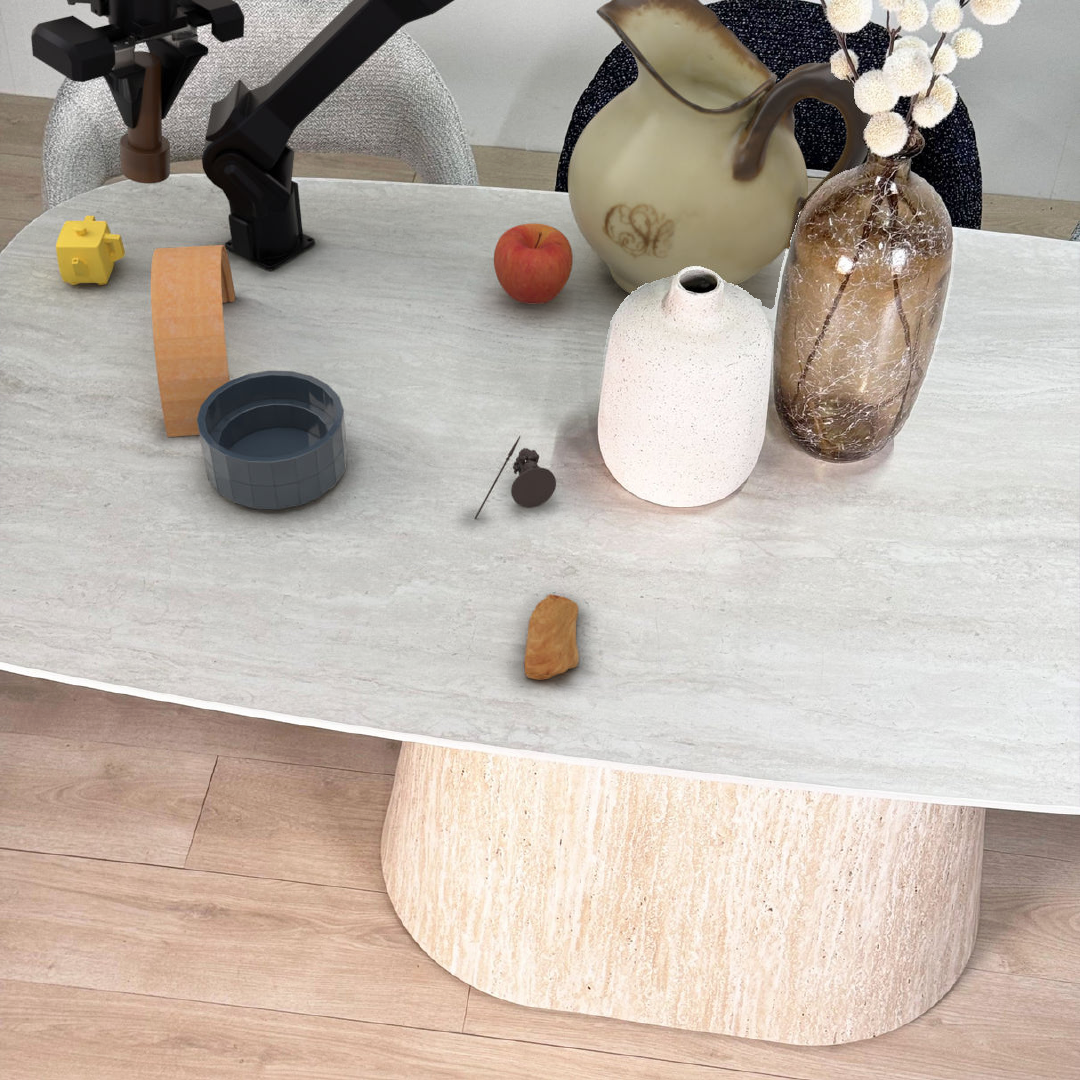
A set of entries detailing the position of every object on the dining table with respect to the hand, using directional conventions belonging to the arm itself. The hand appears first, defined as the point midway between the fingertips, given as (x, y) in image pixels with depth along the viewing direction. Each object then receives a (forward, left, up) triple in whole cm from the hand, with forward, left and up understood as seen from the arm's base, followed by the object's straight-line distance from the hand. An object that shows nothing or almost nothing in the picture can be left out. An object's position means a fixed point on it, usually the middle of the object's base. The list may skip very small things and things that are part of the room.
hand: (145, 122), depth 115 cm
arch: (+11, +16, -13) cm, 23 cm away
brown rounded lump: (+18, +57, -12) cm, 61 cm away
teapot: (+8, -2, -13) cm, 15 cm away
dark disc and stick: (+8, +50, -11) cm, 51 cm away
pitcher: (-29, +41, -14) cm, 52 cm away
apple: (-16, +33, -13) cm, 39 cm away
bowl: (+17, +31, -13) cm, 38 cm away
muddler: (+1, -1, -5) cm, 5 cm away
